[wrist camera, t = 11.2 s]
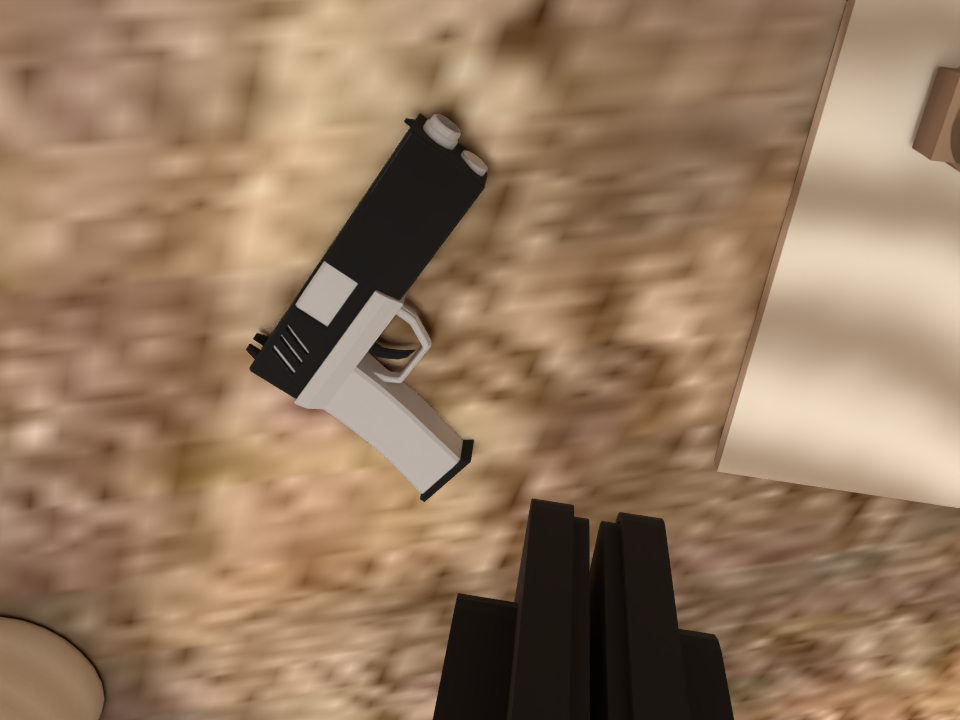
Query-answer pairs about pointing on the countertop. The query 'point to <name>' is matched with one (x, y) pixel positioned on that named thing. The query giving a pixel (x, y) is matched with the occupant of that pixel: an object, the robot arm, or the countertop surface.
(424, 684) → the countertop surface
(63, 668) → the lamp
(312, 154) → the countertop surface
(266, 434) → the countertop surface
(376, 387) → the toy gun
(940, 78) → the walnut link
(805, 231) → the hinge board
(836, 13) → the countertop surface
